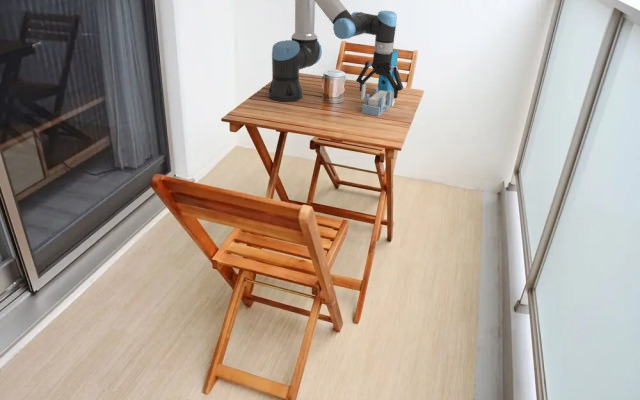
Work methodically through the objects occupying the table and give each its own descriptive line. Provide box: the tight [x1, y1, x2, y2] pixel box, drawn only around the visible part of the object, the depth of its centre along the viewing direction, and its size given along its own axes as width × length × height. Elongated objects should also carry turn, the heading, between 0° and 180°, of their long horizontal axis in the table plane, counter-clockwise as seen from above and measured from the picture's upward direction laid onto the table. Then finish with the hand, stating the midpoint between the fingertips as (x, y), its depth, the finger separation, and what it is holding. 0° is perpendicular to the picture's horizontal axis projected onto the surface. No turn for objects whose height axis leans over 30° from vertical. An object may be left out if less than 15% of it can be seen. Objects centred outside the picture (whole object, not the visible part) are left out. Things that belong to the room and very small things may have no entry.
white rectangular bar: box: [368, 90, 388, 107], centre depth 207 cm, size 14×4×5 cm, turn 153°
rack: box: [361, 87, 392, 117], centre depth 207 cm, size 17×8×7 cm, turn 153°
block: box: [377, 49, 399, 92], centre depth 218 cm, size 12×5×20 cm, turn 158°
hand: (377, 102), depth 207 cm, fingers open, 13 cm apart
